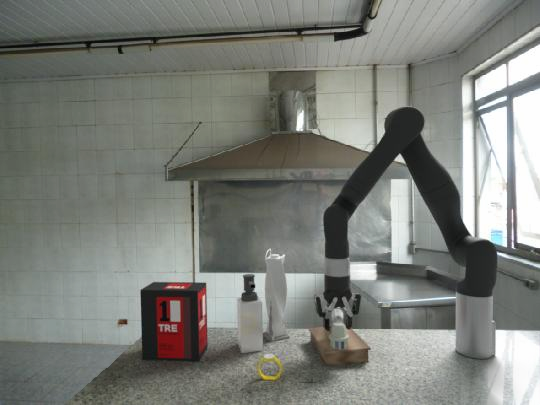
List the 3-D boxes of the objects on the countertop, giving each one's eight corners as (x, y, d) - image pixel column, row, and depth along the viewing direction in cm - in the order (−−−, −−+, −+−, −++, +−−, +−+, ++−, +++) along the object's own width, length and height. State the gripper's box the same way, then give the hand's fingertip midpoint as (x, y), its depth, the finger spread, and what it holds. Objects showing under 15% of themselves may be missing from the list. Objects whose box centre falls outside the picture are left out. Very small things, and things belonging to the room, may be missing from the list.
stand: (348, 337, 116) (348, 325, 116) (370, 362, 99) (370, 347, 99) (308, 340, 114) (308, 328, 114) (325, 366, 97) (324, 351, 97)
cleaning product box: (142, 359, 103) (140, 290, 102) (155, 346, 112) (153, 281, 111) (199, 361, 101) (197, 290, 101) (207, 347, 110) (206, 282, 110)
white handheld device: (344, 306, 119) (349, 323, 94) (345, 327, 118) (349, 349, 93) (328, 305, 119) (328, 322, 95) (328, 326, 119) (329, 348, 94)
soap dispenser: (242, 356, 104) (241, 280, 103) (237, 344, 112) (236, 273, 112) (264, 353, 105) (263, 278, 105) (258, 341, 114) (257, 272, 113)
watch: (258, 382, 91) (255, 358, 90) (259, 376, 93) (257, 353, 93) (281, 381, 90) (279, 358, 90) (282, 375, 93) (280, 353, 92)
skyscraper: (258, 332, 121) (257, 249, 120) (280, 328, 125) (279, 247, 124) (270, 342, 114) (269, 253, 113) (292, 337, 117) (291, 250, 116)
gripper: (316, 276, 101) (317, 336, 102) (365, 274, 103) (366, 332, 104) (309, 271, 109) (310, 326, 109) (355, 268, 111) (356, 323, 111)
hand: (337, 329), depth 107 cm, fingers closed on white handheld device, 5 cm apart
